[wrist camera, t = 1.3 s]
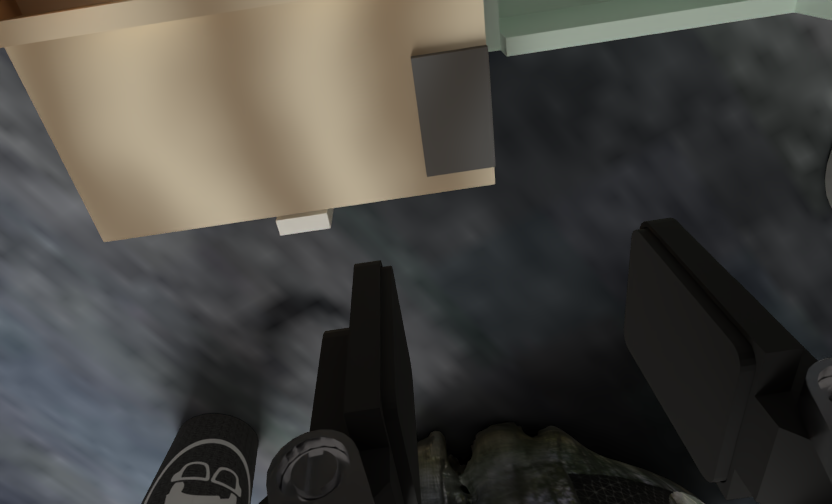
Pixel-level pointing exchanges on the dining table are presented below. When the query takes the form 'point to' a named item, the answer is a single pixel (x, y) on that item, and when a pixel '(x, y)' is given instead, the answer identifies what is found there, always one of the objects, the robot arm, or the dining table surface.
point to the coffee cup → (207, 463)
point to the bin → (618, 19)
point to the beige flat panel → (254, 103)
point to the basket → (536, 472)
